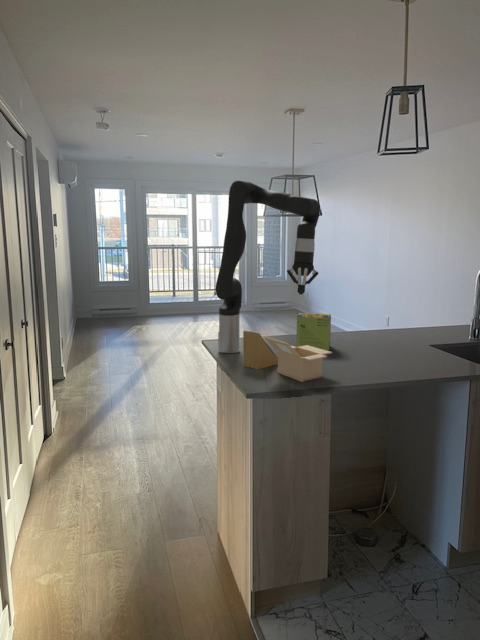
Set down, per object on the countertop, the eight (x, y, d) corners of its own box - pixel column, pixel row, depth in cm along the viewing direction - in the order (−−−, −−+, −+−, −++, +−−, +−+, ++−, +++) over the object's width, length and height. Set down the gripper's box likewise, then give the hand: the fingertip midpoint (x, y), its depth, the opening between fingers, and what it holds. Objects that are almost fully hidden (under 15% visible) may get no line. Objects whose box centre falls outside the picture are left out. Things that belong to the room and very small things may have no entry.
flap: (277, 349, 187) (276, 350, 187) (264, 335, 183) (263, 337, 182) (301, 357, 176) (300, 358, 176) (287, 342, 172) (286, 344, 171)
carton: (272, 371, 192) (273, 348, 190) (301, 365, 200) (302, 343, 199) (307, 384, 176) (308, 359, 174) (337, 376, 184) (337, 353, 182)
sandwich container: (282, 362, 205) (283, 327, 202) (259, 370, 194) (259, 333, 191) (267, 359, 210) (267, 324, 208) (243, 366, 199) (243, 330, 196)
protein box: (329, 351, 223) (330, 317, 220) (295, 349, 226) (296, 316, 223) (330, 345, 233) (331, 313, 230) (297, 344, 236) (298, 312, 233)
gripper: (286, 249, 189) (283, 294, 193) (321, 251, 187) (317, 296, 190) (288, 249, 197) (285, 291, 200) (321, 251, 195) (317, 294, 198)
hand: (300, 294), depth 195 cm, fingers closed
